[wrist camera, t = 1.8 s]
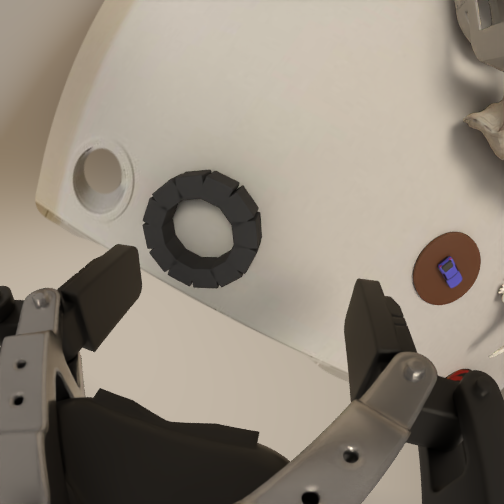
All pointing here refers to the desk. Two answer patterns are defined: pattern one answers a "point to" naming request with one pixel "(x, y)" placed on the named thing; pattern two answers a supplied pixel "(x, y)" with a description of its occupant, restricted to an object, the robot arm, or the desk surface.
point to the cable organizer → (483, 31)
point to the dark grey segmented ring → (172, 250)
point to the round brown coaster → (446, 268)
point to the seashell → (490, 126)
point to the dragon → (503, 290)
